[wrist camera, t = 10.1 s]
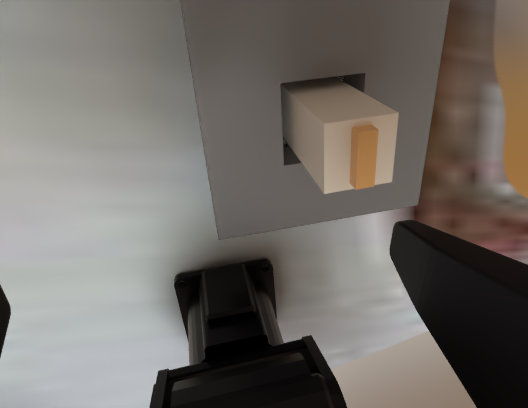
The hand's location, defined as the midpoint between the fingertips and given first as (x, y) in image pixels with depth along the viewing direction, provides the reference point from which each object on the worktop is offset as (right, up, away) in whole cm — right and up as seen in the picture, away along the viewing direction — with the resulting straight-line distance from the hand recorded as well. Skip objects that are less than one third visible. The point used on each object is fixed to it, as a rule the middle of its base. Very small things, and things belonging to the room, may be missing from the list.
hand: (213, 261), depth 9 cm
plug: (+4, +7, +12) cm, 14 cm away
